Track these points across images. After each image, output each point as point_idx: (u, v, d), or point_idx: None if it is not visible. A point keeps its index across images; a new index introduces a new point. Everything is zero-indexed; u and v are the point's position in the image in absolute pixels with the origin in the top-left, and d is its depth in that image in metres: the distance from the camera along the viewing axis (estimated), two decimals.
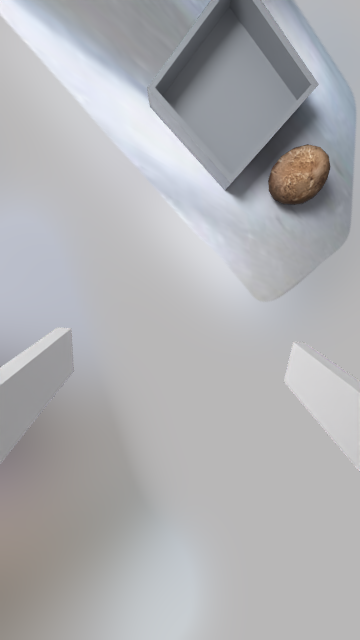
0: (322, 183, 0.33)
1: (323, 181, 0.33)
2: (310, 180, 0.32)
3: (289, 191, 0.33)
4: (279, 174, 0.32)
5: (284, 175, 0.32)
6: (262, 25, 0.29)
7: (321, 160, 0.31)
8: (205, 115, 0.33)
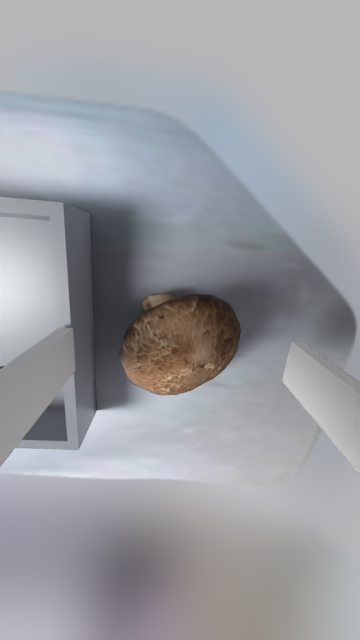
0: (232, 340, 0.14)
1: (231, 338, 0.13)
2: (202, 367, 0.13)
3: (183, 391, 0.15)
4: (140, 386, 0.14)
5: (149, 386, 0.14)
6: None
7: (192, 332, 0.12)
8: None
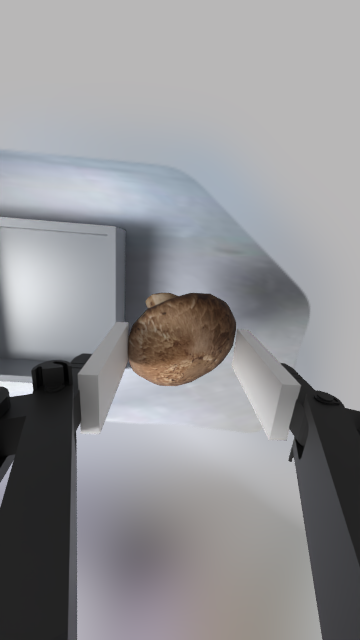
0: (228, 335, 0.15)
1: (227, 333, 0.15)
2: (201, 359, 0.15)
3: (184, 382, 0.16)
4: (144, 377, 0.16)
5: (152, 377, 0.15)
6: (6, 226, 0.20)
7: (191, 327, 0.13)
8: (42, 329, 0.26)
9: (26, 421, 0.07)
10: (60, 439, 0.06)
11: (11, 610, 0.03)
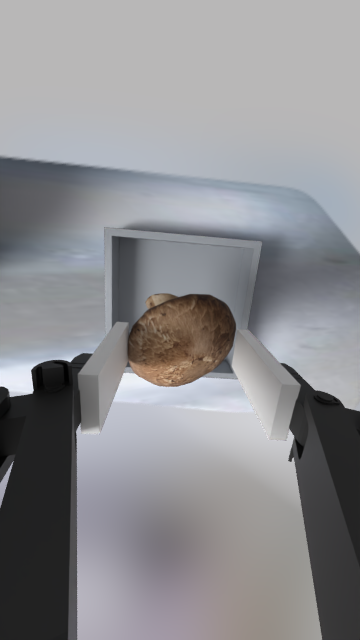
0: (228, 336, 0.15)
1: (227, 334, 0.15)
2: (201, 359, 0.15)
3: (183, 382, 0.16)
4: (144, 378, 0.16)
5: (152, 378, 0.15)
6: (164, 240, 0.24)
7: (192, 328, 0.13)
8: None
9: (26, 421, 0.07)
10: (61, 439, 0.06)
11: (11, 610, 0.03)
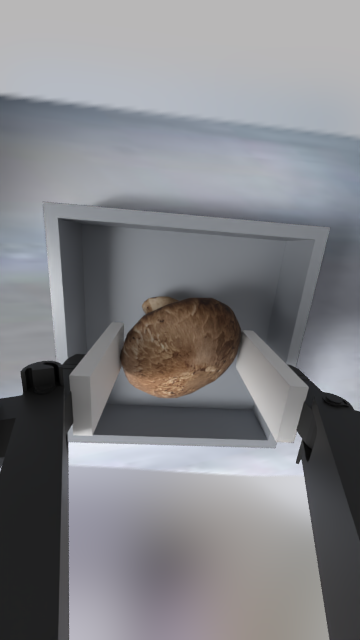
0: (233, 343, 0.14)
1: (232, 341, 0.13)
2: (203, 370, 0.13)
3: (184, 394, 0.15)
4: (141, 389, 0.14)
5: (150, 390, 0.14)
6: (154, 227, 0.13)
7: (193, 336, 0.12)
8: None
9: (15, 423, 0.07)
10: (51, 441, 0.06)
11: None
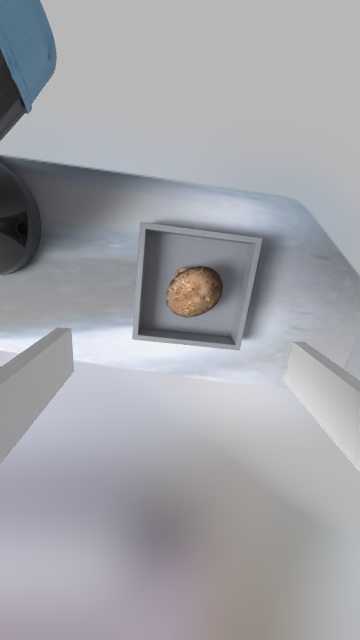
0: (218, 288, 0.30)
1: (217, 286, 0.30)
2: (204, 298, 0.30)
3: (194, 313, 0.31)
4: (175, 309, 0.31)
5: (179, 309, 0.31)
6: (185, 234, 0.30)
7: (200, 281, 0.29)
8: None
9: None
10: None
11: None
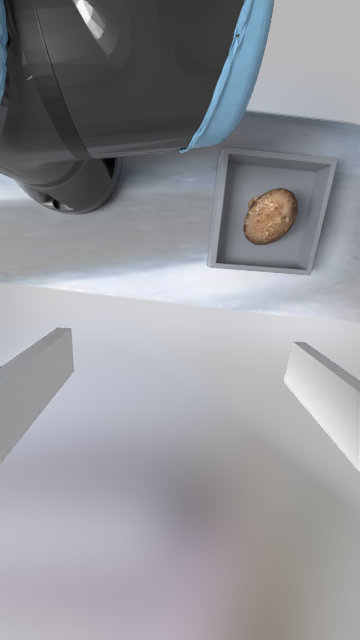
0: (296, 209, 0.32)
1: (296, 208, 0.32)
2: (285, 218, 0.31)
3: (272, 237, 0.33)
4: (254, 233, 0.33)
5: (259, 232, 0.32)
6: (263, 159, 0.32)
7: (283, 199, 0.30)
8: None
9: None
10: None
11: None
